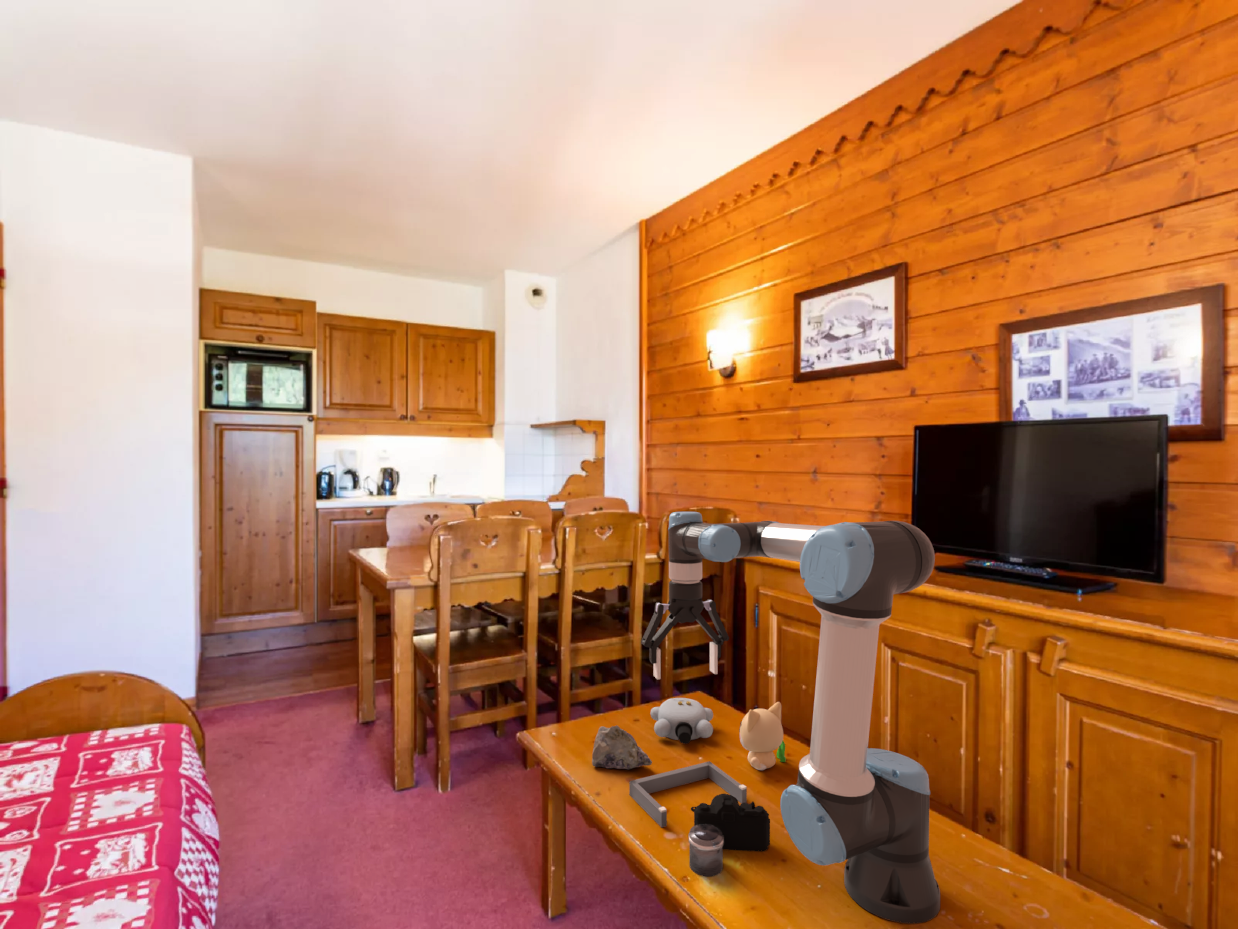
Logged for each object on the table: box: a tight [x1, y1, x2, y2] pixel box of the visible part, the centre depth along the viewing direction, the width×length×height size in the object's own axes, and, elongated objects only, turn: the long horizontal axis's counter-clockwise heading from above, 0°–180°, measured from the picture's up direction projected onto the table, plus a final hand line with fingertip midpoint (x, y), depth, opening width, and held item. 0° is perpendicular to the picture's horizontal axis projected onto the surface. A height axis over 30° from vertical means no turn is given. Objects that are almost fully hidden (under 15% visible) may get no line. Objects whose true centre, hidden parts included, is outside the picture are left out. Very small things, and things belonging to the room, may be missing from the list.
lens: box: [688, 824, 724, 878], centre depth 115 cm, size 6×6×6 cm
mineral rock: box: [591, 725, 653, 770], centre depth 152 cm, size 13×11×10 cm
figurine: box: [649, 697, 714, 745], centre depth 172 cm, size 17×8×20 cm
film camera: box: [690, 793, 771, 852], centre depth 124 cm, size 15×10×9 cm, turn 84°
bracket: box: [628, 761, 748, 828], centre depth 138 cm, size 14×21×3 cm, turn 117°
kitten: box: [738, 701, 787, 771], centre depth 154 cm, size 15×10×15 cm
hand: (685, 675), depth 142 cm, fingers open, 13 cm apart
